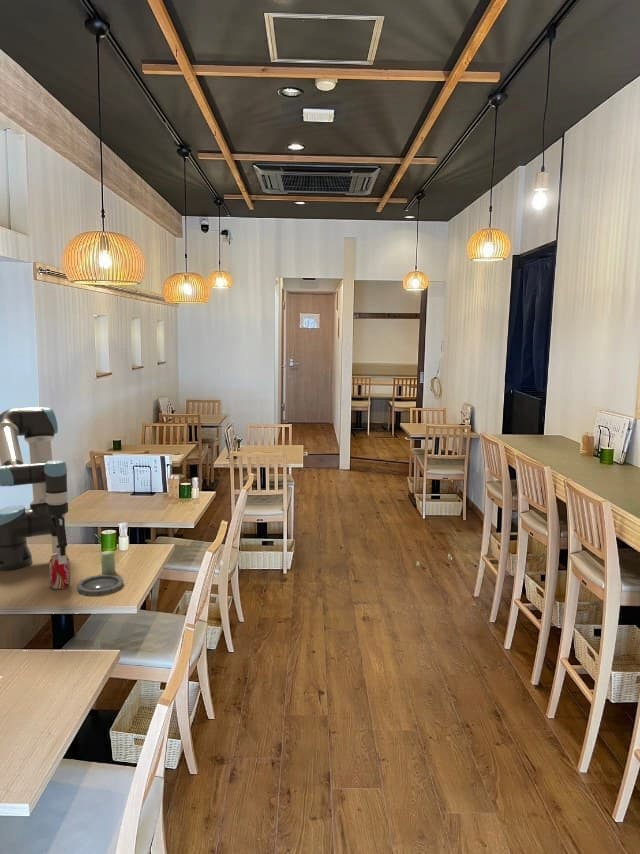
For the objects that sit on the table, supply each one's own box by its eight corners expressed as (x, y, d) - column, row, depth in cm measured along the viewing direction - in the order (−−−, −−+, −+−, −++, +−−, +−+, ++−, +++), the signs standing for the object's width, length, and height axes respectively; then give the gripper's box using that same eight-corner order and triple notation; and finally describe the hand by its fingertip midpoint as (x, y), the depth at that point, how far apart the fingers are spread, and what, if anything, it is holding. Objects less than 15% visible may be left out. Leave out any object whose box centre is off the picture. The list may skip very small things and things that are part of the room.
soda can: (63, 591, 225) (61, 560, 223) (46, 589, 226) (44, 558, 225) (74, 583, 232) (73, 553, 230) (57, 582, 233) (56, 552, 231)
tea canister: (100, 571, 245) (99, 552, 244) (113, 568, 248) (112, 550, 246) (103, 575, 241) (102, 555, 240) (116, 572, 243) (115, 553, 242)
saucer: (73, 583, 233) (73, 579, 232) (116, 575, 241) (116, 571, 241) (82, 598, 219) (82, 594, 219) (127, 589, 228) (127, 586, 227)
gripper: (40, 496, 233) (43, 550, 235) (51, 511, 212) (54, 570, 215) (61, 494, 237) (64, 546, 239) (74, 509, 216) (76, 566, 219)
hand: (59, 558), depth 227 cm, fingers open, 13 cm apart
